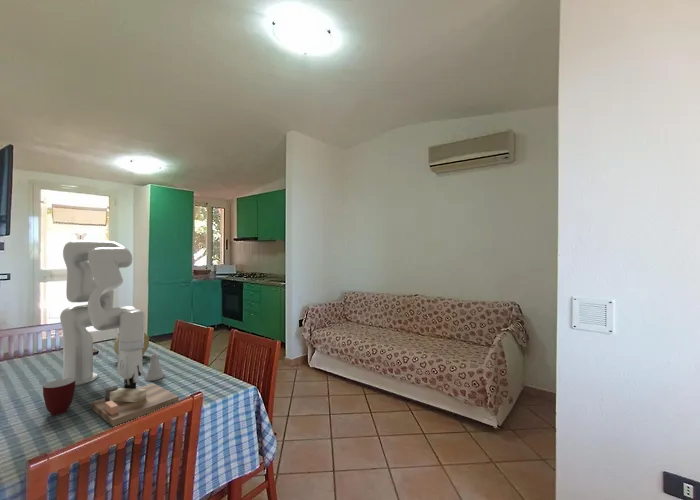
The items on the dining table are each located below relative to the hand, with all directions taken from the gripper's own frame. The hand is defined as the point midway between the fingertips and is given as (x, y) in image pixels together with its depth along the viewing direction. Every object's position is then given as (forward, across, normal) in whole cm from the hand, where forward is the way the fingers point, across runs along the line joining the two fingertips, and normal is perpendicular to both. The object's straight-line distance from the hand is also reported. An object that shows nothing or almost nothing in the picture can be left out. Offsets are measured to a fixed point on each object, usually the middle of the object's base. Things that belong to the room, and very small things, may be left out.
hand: (129, 394), depth 117 cm
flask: (+3, -15, +15) cm, 22 cm away
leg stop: (0, +8, -8) cm, 12 cm away
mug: (+3, -11, -17) cm, 21 cm away
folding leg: (0, +3, -3) cm, 4 cm away
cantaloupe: (+5, -52, +20) cm, 56 cm away
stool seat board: (+2, +6, 0) cm, 6 cm away
